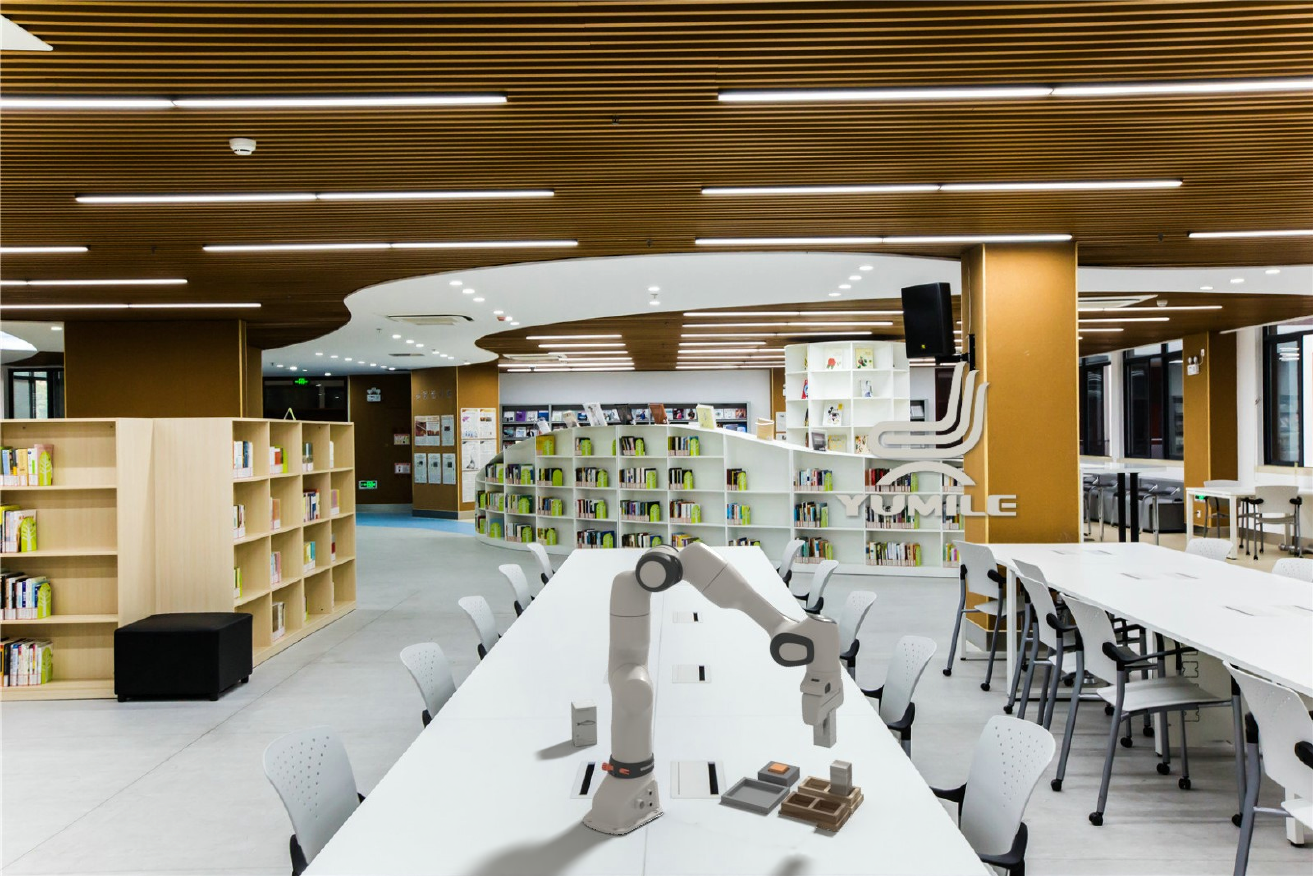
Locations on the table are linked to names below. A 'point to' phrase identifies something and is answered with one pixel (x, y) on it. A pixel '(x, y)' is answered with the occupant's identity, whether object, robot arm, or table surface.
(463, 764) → the table surface
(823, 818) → the pallet
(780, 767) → the button
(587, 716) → the supplement box
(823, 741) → the block
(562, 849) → the table surface
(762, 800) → the tray
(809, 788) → the tray
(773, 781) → the button console
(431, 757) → the table surface
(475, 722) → the table surface
